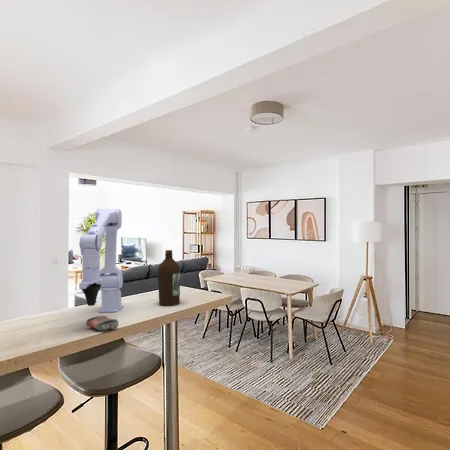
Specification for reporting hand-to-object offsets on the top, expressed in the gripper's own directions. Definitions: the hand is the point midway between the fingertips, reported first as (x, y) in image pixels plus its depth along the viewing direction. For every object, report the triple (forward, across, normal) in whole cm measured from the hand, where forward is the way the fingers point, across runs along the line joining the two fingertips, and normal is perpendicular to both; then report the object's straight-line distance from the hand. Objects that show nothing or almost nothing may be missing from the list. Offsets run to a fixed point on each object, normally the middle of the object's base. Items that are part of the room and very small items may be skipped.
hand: (91, 305), depth 115 cm
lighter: (+6, +2, -1) cm, 7 cm away
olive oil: (+8, +34, -22) cm, 41 cm away
